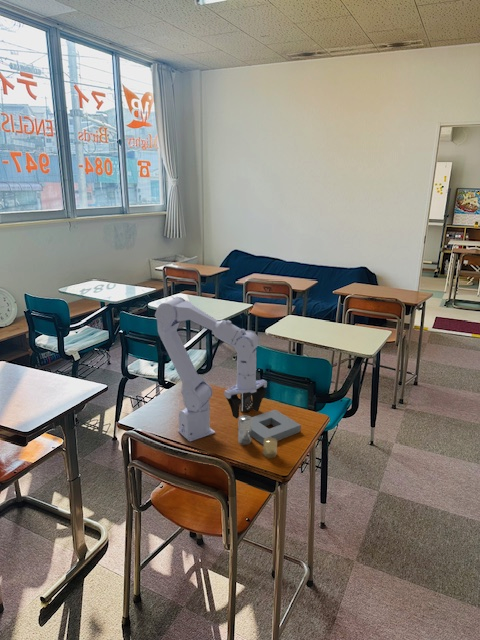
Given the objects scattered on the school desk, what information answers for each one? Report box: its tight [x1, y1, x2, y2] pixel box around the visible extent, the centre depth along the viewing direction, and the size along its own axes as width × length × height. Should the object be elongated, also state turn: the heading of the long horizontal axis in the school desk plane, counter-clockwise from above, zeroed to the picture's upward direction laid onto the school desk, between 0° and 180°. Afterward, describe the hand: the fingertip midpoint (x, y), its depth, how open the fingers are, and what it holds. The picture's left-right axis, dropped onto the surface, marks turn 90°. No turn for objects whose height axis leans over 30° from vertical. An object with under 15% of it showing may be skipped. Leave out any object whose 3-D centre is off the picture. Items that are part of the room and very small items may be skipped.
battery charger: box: [239, 392, 253, 413], centre depth 157 cm, size 7×4×11 cm, turn 157°
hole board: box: [250, 409, 302, 446], centre depth 144 cm, size 15×13×2 cm
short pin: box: [262, 437, 278, 459], centre depth 130 cm, size 4×4×4 cm
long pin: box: [237, 414, 252, 446], centre depth 136 cm, size 4×4×8 cm
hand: (245, 413), depth 134 cm, fingers open, 7 cm apart
